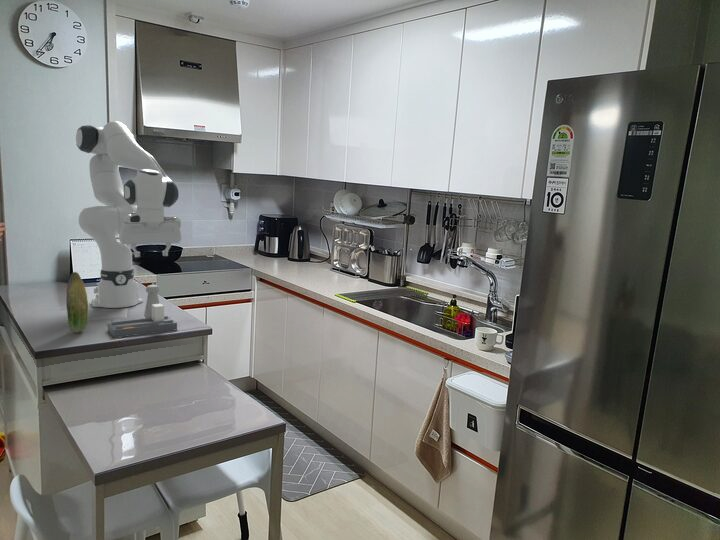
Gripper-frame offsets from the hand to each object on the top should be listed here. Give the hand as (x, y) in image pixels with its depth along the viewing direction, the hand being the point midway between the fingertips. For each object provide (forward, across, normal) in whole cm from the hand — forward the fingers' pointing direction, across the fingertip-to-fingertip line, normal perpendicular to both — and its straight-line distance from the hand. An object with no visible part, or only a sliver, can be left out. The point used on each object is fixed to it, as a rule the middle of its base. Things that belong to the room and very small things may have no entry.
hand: (151, 256), depth 188 cm
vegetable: (+24, +24, +4) cm, 34 cm away
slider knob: (+21, +1, +10) cm, 23 cm away
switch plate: (+24, +6, +10) cm, 26 cm away
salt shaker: (+24, 0, 0) cm, 24 cm away
